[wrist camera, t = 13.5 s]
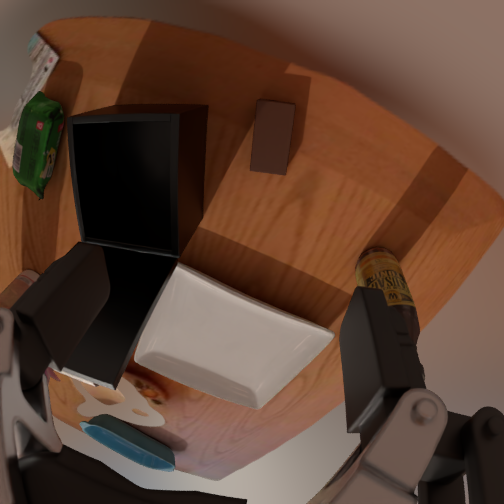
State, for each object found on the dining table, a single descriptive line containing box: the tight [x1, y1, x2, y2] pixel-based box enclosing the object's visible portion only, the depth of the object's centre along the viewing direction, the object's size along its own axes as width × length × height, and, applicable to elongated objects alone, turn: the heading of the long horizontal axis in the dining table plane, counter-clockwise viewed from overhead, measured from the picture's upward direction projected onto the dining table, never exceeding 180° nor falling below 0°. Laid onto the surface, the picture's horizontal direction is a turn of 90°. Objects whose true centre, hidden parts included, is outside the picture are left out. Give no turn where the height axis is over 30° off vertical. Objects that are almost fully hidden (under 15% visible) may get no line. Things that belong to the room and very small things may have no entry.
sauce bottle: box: [355, 247, 425, 380], centre depth 31 cm, size 7×6×20 cm
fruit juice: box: [0, 270, 40, 309], centre depth 40 cm, size 9×9×28 cm
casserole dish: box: [80, 414, 175, 472], centre depth 83 cm, size 37×22×7 cm, turn 46°
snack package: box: [13, 91, 64, 200], centre depth 33 cm, size 7×16×5 cm, turn 151°
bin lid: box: [53, 242, 178, 390], centre depth 26 cm, size 16×13×6 cm
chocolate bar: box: [250, 99, 296, 175], centre depth 32 cm, size 8×4×2 cm, turn 175°
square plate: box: [134, 262, 335, 409], centre depth 49 cm, size 27×27×4 cm
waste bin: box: [67, 104, 208, 258], centre depth 32 cm, size 15×13×10 cm
